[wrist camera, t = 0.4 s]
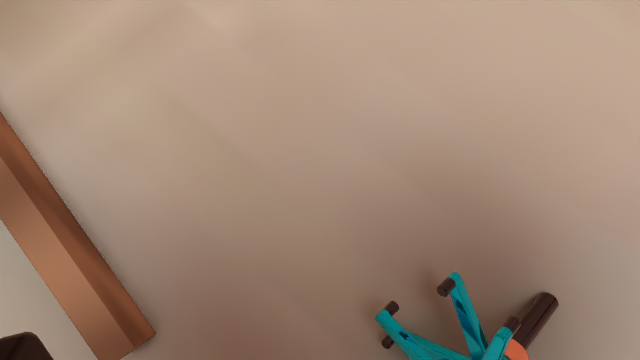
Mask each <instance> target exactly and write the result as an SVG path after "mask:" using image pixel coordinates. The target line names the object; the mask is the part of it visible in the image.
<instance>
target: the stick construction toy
mask: <svg viewBox="0 0 640 360" xmlns="http://www.w3.org/2000/svg"><path fill="white" fill-rule="evenodd" d="M437 292H438V294H439V295H441V296H443V297H446V296H447V295H448V294H449V293H450V294H451V297H452V300H453V303H454V306H455V309H456V312H457V315H458V318H459V321H460V324H461V327H462V331H463V334H464V337H465V340H466V343H467V346H468V349H469V352H470V355H471V358H472V359H471V358H469V357H467V356H464V355H462V354H460V353H457V352H455V351H453V350H450V349H448V348H446V347H443V346H441V345H439V344H436V343H434V342H432V341H429V340H427V339H425V338H422V337H420V336H418V335H415V334H413V333H410V332H408V331H406V330H405V329H404V328H403V327H402V326H401V325H400V324H399V323H398V322H397V321H396V320H395V319H394V318H393V317H392V316H393V315H394V314H395V313H396V312H397V311H398V310H399V305H398V304H397V303H396V302H395V301H391V302H390V303H389V304H387V305H386V306H385V307H384V308H383V309H382V310H381V311H380V312H379V313H378V314H377V315H376V316H375V319H376V321H377V322H378V323H379V325H380V326H381V327H382V328H383V329H384V330H385V331H386V333H387V334H388V335H387V336H386V337H385V338H384V339H383V340H382V346H383V347H384V348H386V349H389V348H390V347H391V346H392V345H393V344H394V343H396V344H397V345H398V346H399V347H400V348H401V349H402V351H403V352H404V353H405V354H406V355H407V356H408V357H409V358H410V360H529V357H528V354H527V352H526V351H527V349H528V348H529V346H530V345H531V344H532V342H533V341H534V340H535V338H536V337H537V335H538V334H539V333H540V331H541V330H542V328H543V327H544V326H545V324H546V323H547V321H548V320H549V319H550V317H551V316H552V315H553V313H554V312H555V310H556V309H557V308H558V305H559V304H558V301H557V299H556V298H555V297H554V296H553V295H551V294H549V293H541V294H540V295H539V296H538V297H537V299H536V300H535V301H534V303H533V304H532V305H531V306H530V308H529V309H528V310H527V312H526V313H525V314H524V316H523V317H522V318H521V319H520V321H519V319H518V318H516V317H514V316H509V317H508V319H507V320H506V321H505V322H504V324H503V325H502V326H501V327H500V329H499V330H498V331H497V332H496V334H495V335H494V337H493V338H492V340H491V342H490V344H489V343H488V341H487V339H486V336H485V334H484V331H483V329H482V326H481V324H480V322H479V319H478V317H477V314H476V312H475V310H474V307H473V305H472V302H471V300H470V297H469V295H468V293H467V290H466V288H465V285H464V283H463V281H462V278H461V276H460V275H459V274H458V273H457V272H452V273H451V274H450V275H449V276H448V277H447V278H446V279H445V280H444V281H443V282H442V283H441V284H440V285H439V286H438V287H437Z"/></svg>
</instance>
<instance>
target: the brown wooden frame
mask: <svg viewBox="0 0 640 360" xmlns="http://www.w3.org/2000/svg"><path fill="white" fill-rule="evenodd" d="M0 218H1V220H2V221H3V223H4V224H5V226H6V227H7V229H8V230H9V231H10V233H11V234H12V236H13V237H14V239H15V240H16V242H17V243H18V244H19V246H20V247H21V249H22V250H23V252H24V253H25V254H26V256H27V257H28V259H29V260H30V262H31V263H32V265H33V266H34V267H35V269H36V270H37V272H38V273H39V275H40V276H41V278H42V279H43V280H44V282H45V283H46V285H47V286H48V288H49V289H50V291H51V292H52V293H53V295H54V296H55V298H56V299H57V301H58V302H59V304H60V305H61V306H62V308H63V309H64V311H65V312H66V314H67V315H68V317H69V318H70V319H71V321H72V322H73V324H74V325H75V327H76V328H77V330H78V331H79V332H80V334H81V335H82V337H83V338H84V340H85V341H86V343H87V344H88V345H89V347H90V348H91V350H92V351H93V353H94V354H95V356H96V357H97V358H98V360H120V359H121V358H123V357H124V356H126V355H127V354H129V353H130V352H131V351H133V350H134V349H135V348H137V347H138V346H140V345H141V344H142V343H144V342H145V341H146V340H148V339H149V338H150V337H152V336H153V335H154V334H156V333H155V332H154V330H153V329H152V327H151V326H150V325H149V323H148V322H147V320H146V319H145V318H144V316H143V315H142V313H141V312H140V310H139V309H138V308H137V306H136V305H135V303H134V302H133V300H132V299H131V298H130V296H129V295H128V293H127V292H126V290H125V289H124V288H123V286H122V285H121V283H120V282H119V281H118V279H117V278H116V276H115V275H114V273H113V272H112V271H111V269H110V268H109V266H108V265H107V263H106V262H105V261H104V259H103V258H102V256H101V255H100V254H99V252H98V251H97V249H96V248H95V246H94V245H93V244H92V242H91V241H90V239H89V238H88V236H87V235H86V234H85V232H84V231H83V229H82V228H81V227H80V225H79V224H78V222H77V221H76V219H75V218H74V217H73V215H72V214H71V212H70V211H69V209H68V208H67V207H66V205H65V204H64V202H63V201H62V199H61V198H60V197H59V195H58V194H57V192H56V191H55V190H54V188H53V187H52V185H51V184H50V182H49V181H48V180H47V178H46V177H45V175H44V174H43V172H42V171H41V170H40V168H39V167H38V165H37V164H36V163H35V161H34V160H33V158H32V157H31V155H30V154H29V153H28V151H27V150H26V148H25V147H24V145H23V144H22V143H21V141H20V140H19V138H18V137H17V135H16V134H15V133H14V131H13V130H12V128H11V127H10V126H9V124H8V123H7V121H6V120H5V118H4V117H3V116H2V114H1V113H0Z"/></svg>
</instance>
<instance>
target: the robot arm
mask: <svg viewBox="0 0 640 360" xmlns="http://www.w3.org/2000/svg"><path fill="white" fill-rule="evenodd" d="M0 360H53V358H52V357H51V355H50V354H49V352H48V351H47V349H46V348H45V346H44V345H43V343H42V342H41V341H40V339H39V338H38V337H37V335H35V334H34V333H31V332H23V333H19V334H15V335H11V336H7V337H4V338H1V339H0Z"/></svg>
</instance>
